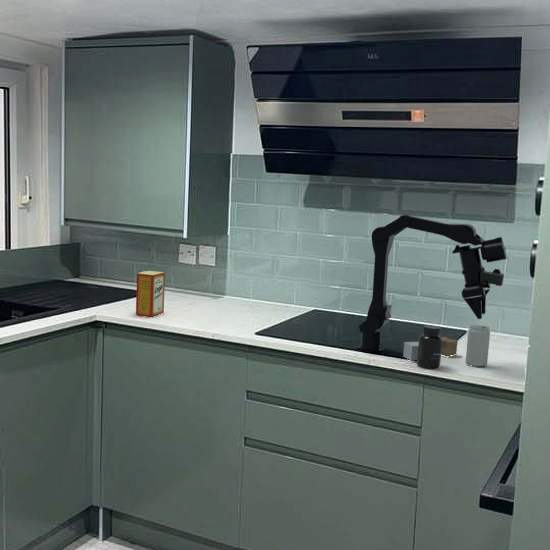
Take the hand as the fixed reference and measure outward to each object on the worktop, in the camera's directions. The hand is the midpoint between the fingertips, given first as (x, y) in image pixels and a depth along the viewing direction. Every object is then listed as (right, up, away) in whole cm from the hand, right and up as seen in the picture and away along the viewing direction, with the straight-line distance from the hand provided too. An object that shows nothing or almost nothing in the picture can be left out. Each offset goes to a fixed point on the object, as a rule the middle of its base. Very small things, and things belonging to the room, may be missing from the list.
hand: (481, 316), depth 216 cm
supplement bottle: (-17, -15, -2) cm, 22 cm away
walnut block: (-8, -13, +14) cm, 21 cm away
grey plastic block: (-19, -14, +6) cm, 24 cm away
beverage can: (-1, -15, +3) cm, 16 cm away
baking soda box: (-109, -2, +52) cm, 120 cm away
